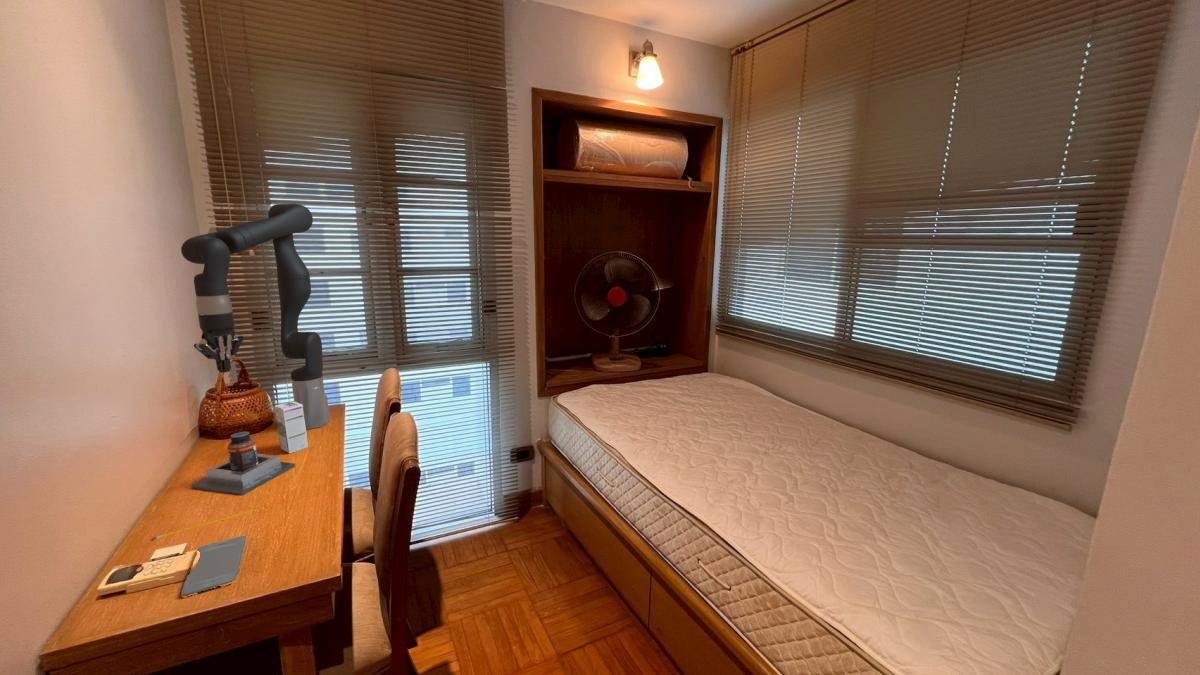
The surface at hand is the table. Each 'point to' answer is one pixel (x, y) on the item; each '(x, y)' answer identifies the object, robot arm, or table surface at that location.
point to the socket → (242, 475)
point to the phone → (215, 565)
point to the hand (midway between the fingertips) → (224, 371)
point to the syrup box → (291, 426)
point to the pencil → (200, 525)
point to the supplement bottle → (242, 452)
